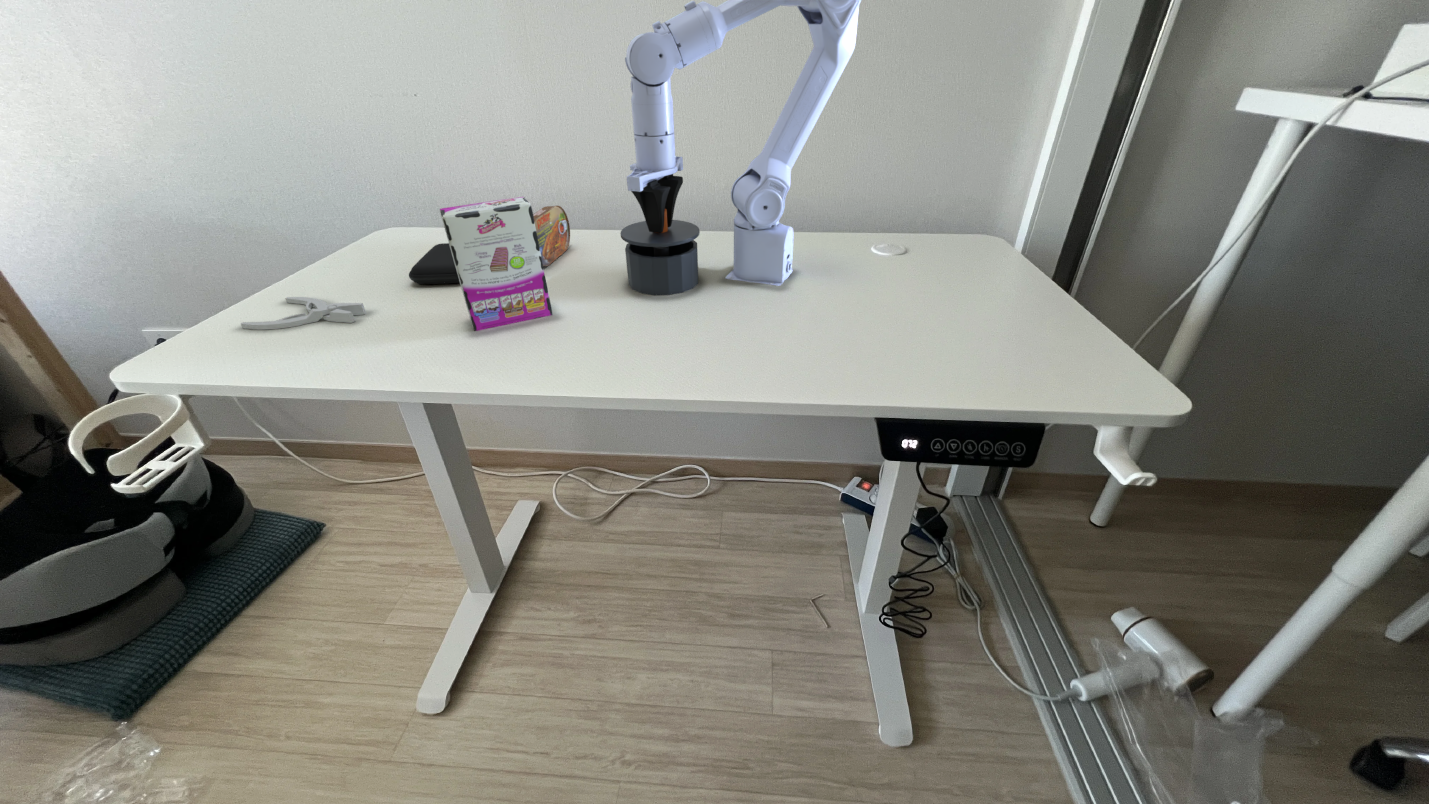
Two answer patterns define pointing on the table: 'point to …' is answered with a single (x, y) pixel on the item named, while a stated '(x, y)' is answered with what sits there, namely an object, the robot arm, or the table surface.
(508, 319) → the candy bar box
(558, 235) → the tin
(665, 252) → the blade
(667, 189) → the robot arm
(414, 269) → the carrying case
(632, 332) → the table surface
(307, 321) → the pliers
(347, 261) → the table surface
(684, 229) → the lid
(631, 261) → the dark grey pot
